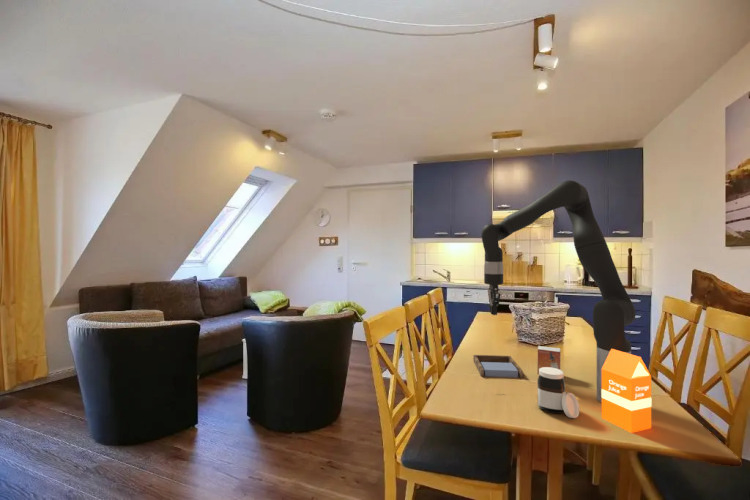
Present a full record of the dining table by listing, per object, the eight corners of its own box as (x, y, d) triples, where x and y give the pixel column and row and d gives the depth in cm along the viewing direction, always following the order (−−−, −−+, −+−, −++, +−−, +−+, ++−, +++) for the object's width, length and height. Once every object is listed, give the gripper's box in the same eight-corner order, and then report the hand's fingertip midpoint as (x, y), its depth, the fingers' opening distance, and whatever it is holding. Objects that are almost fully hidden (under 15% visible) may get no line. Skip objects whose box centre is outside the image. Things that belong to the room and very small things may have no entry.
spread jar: (538, 399, 116) (538, 364, 116) (578, 406, 110) (578, 369, 110) (536, 415, 105) (536, 376, 105) (580, 423, 100) (580, 382, 100)
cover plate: (517, 377, 133) (517, 370, 133) (485, 376, 134) (485, 369, 134) (511, 369, 142) (511, 362, 142) (480, 368, 143) (480, 361, 143)
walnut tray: (522, 380, 132) (522, 370, 132) (481, 378, 134) (481, 369, 134) (510, 364, 150) (510, 355, 150) (473, 362, 152) (473, 354, 152)
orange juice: (620, 413, 105) (620, 347, 105) (651, 428, 97) (652, 355, 97) (601, 418, 103) (600, 349, 103) (631, 433, 95) (631, 359, 94)
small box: (537, 376, 136) (537, 349, 136) (537, 371, 141) (537, 345, 141) (560, 379, 132) (560, 351, 132) (560, 374, 137) (560, 347, 137)
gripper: (507, 273, 139) (507, 317, 139) (499, 271, 152) (499, 311, 152) (487, 273, 139) (487, 317, 140) (481, 271, 153) (481, 311, 153)
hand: (493, 314), depth 146 cm, fingers closed
